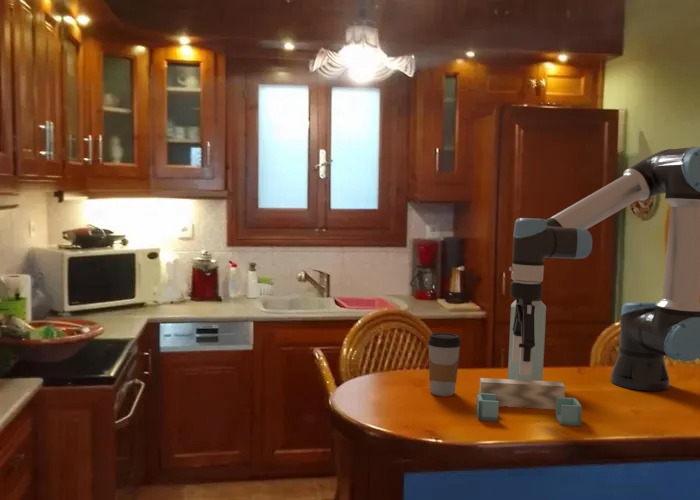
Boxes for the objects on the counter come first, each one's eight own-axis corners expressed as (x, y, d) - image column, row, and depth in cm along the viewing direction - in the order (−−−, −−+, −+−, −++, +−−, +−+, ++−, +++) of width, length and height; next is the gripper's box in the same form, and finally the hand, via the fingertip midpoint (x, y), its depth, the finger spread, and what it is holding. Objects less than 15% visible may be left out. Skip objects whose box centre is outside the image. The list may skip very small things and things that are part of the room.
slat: (560, 405, 179) (561, 382, 179) (563, 410, 175) (565, 386, 175) (479, 401, 181) (480, 377, 180) (480, 406, 177) (481, 382, 176)
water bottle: (534, 389, 192) (539, 296, 190) (500, 382, 198) (504, 292, 196) (549, 382, 200) (553, 293, 198) (515, 376, 206) (519, 289, 204)
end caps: (574, 417, 169) (575, 398, 169) (580, 426, 163) (581, 406, 162) (476, 411, 171) (477, 392, 171) (478, 420, 165) (479, 400, 165)
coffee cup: (457, 398, 182) (460, 339, 181) (424, 395, 184) (426, 337, 182) (459, 390, 190) (461, 333, 189) (427, 387, 192) (429, 331, 190)
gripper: (505, 275, 188) (500, 355, 190) (517, 287, 164) (511, 379, 165) (534, 277, 188) (529, 357, 189) (551, 289, 163) (545, 381, 164)
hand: (521, 367), depth 177 cm, fingers open, 13 cm apart
